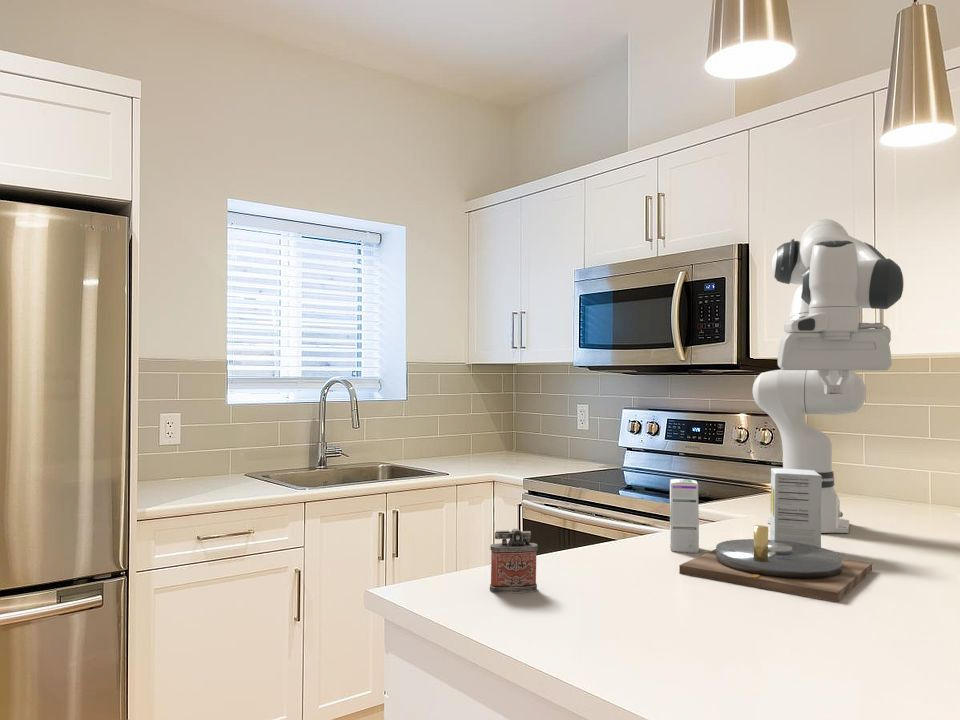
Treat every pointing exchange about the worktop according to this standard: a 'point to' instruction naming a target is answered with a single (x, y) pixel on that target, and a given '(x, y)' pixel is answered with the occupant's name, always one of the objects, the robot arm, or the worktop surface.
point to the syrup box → (684, 516)
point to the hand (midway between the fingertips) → (833, 394)
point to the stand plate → (781, 578)
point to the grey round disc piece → (778, 557)
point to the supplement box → (796, 506)
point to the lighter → (513, 563)
